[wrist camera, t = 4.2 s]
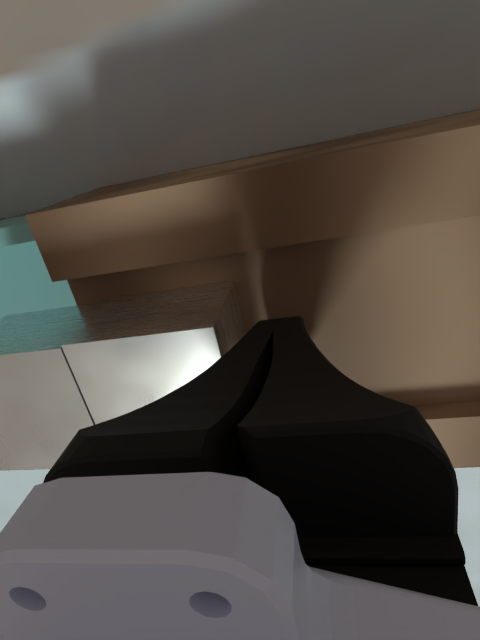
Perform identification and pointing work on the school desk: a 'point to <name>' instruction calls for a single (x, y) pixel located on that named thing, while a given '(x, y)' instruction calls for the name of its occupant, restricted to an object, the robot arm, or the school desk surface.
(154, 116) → the school desk surface
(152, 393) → the grey square block
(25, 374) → the light grey block
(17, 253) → the tray
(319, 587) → the robot arm
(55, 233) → the channel block
